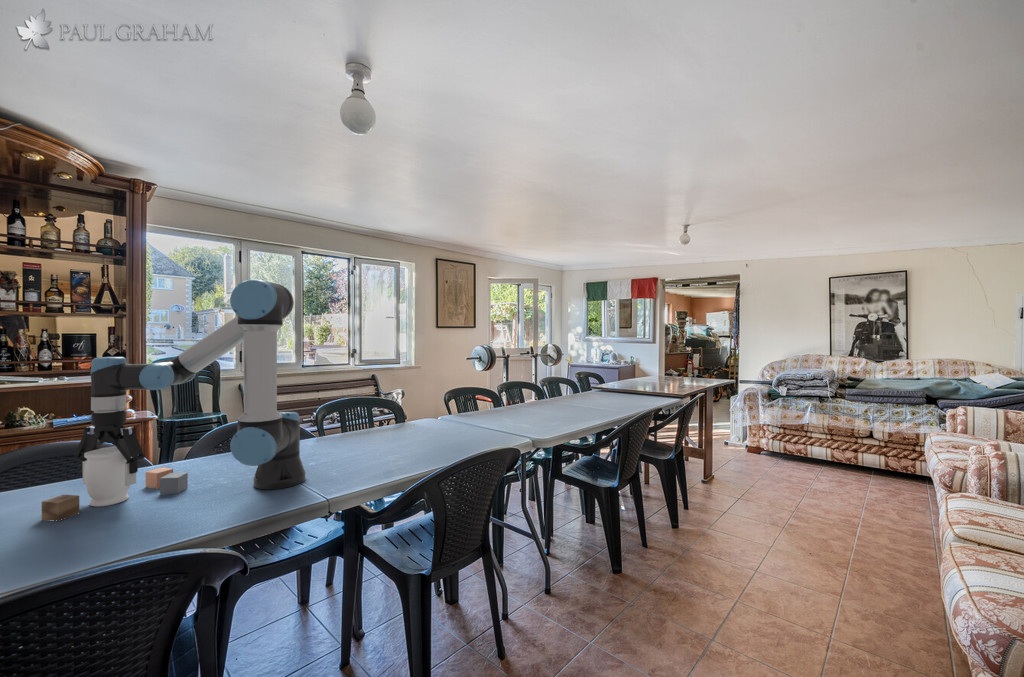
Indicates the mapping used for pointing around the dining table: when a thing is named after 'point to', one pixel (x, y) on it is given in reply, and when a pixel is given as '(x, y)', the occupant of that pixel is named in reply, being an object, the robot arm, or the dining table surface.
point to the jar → (105, 476)
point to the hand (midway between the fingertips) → (109, 483)
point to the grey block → (173, 483)
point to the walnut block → (60, 507)
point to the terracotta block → (156, 476)
